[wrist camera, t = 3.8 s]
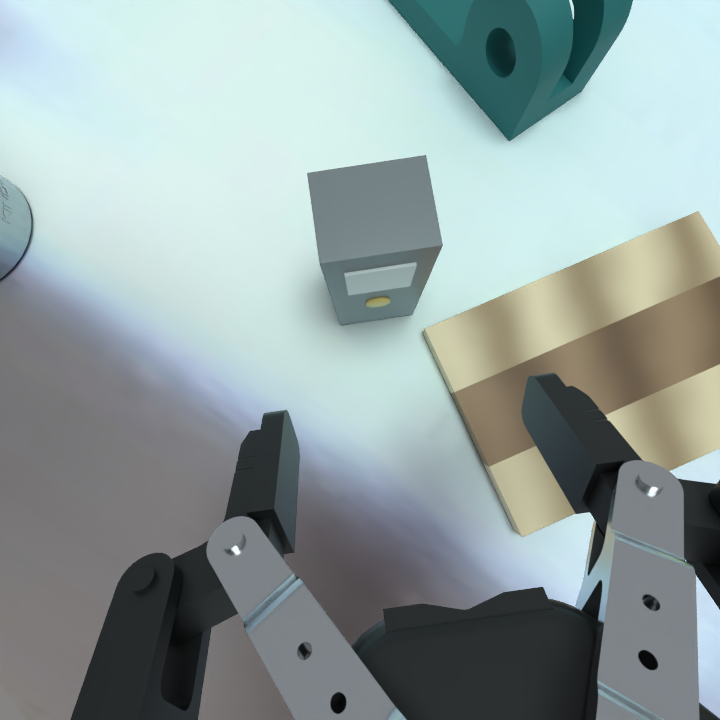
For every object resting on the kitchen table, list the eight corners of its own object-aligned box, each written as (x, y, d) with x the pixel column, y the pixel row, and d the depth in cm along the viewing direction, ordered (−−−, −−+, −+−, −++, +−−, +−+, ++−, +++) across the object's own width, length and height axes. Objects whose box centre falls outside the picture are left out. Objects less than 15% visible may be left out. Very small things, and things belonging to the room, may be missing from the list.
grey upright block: (340, 327, 26) (320, 267, 15) (332, 270, 27) (307, 172, 16) (412, 316, 26) (443, 248, 15) (403, 259, 27) (425, 155, 16)
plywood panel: (514, 531, 24) (522, 537, 23) (422, 332, 26) (425, 328, 25) (793, 405, 25) (815, 405, 23) (683, 220, 27) (698, 211, 25)
